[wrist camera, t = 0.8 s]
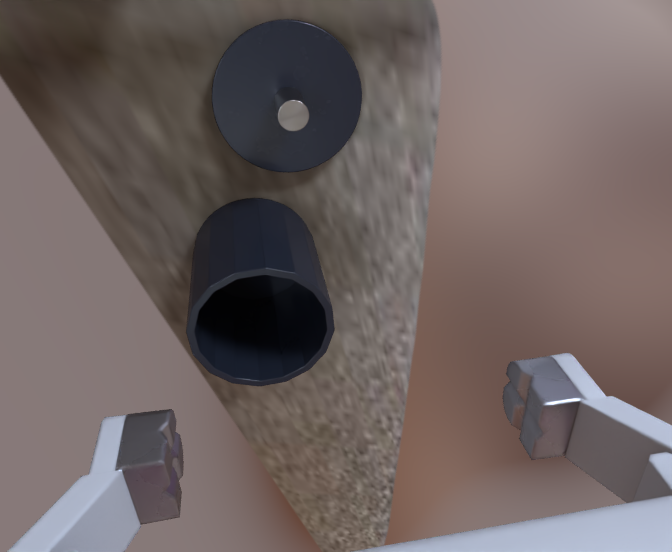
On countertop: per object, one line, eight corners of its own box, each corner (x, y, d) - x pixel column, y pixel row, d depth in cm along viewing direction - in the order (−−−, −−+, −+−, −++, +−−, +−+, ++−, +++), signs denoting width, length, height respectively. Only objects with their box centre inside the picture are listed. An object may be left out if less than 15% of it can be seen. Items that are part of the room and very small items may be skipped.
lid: (197, 28, 44) (194, 40, 39) (353, 9, 45) (367, 19, 40) (227, 176, 50) (228, 201, 46) (363, 157, 51) (376, 179, 47)
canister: (182, 208, 51) (171, 283, 41) (305, 189, 52) (326, 258, 42) (208, 308, 57) (204, 396, 47) (318, 290, 58) (339, 372, 48)
